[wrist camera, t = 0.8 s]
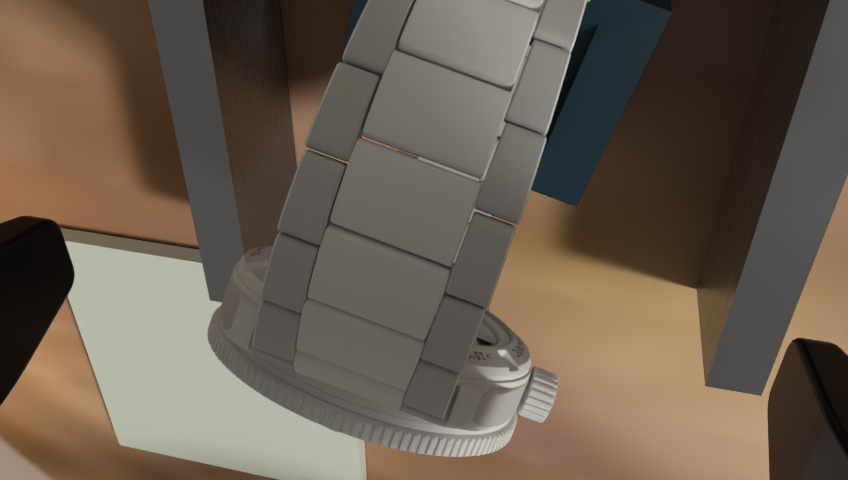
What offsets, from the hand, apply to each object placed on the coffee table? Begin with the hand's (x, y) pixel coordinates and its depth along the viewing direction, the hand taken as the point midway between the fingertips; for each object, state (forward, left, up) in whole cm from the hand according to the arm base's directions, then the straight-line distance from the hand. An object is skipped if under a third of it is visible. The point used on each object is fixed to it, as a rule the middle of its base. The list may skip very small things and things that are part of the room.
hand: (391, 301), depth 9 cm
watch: (0, 0, -10) cm, 10 cm away
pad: (-13, +9, -10) cm, 19 cm away
